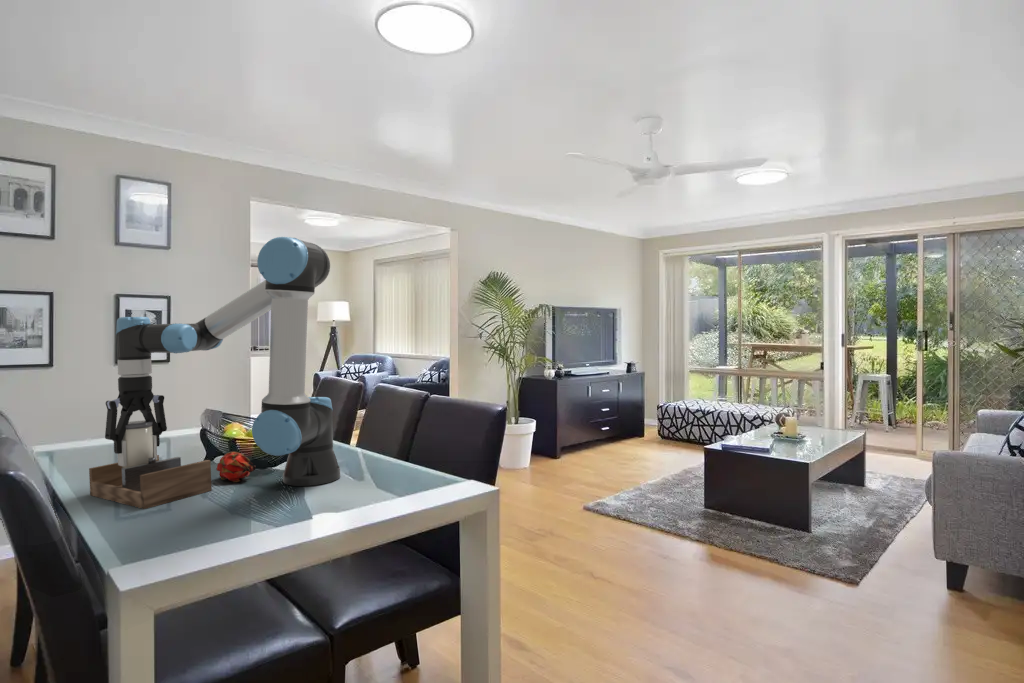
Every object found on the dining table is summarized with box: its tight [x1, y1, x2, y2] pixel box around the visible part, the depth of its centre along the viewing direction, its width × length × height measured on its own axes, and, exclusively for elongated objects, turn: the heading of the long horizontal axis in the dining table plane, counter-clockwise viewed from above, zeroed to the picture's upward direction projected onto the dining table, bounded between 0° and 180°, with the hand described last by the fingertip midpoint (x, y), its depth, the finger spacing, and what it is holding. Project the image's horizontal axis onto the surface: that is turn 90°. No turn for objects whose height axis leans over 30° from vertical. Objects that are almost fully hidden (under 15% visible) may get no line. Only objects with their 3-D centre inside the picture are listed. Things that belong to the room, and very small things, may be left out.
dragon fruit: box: [215, 451, 256, 483], centre depth 165 cm, size 8×8×12 cm
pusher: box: [122, 456, 182, 492], centre depth 153 cm, size 2×14×8 cm, turn 150°
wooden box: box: [88, 454, 212, 510], centre depth 153 cm, size 25×17×8 cm
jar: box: [122, 420, 153, 468], centre depth 156 cm, size 7×7×12 cm
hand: (138, 462), depth 156 cm, fingers closed on jar, 7 cm apart
